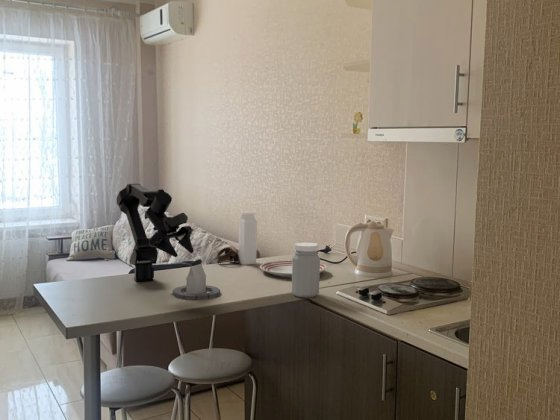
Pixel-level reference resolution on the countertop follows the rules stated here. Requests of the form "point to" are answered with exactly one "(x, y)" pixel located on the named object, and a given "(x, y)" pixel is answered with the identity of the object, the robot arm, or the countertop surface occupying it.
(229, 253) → the pottery mug
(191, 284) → the tea bag
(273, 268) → the dinner plate
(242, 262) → the milk
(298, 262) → the jar
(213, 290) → the ring
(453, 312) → the countertop surface
